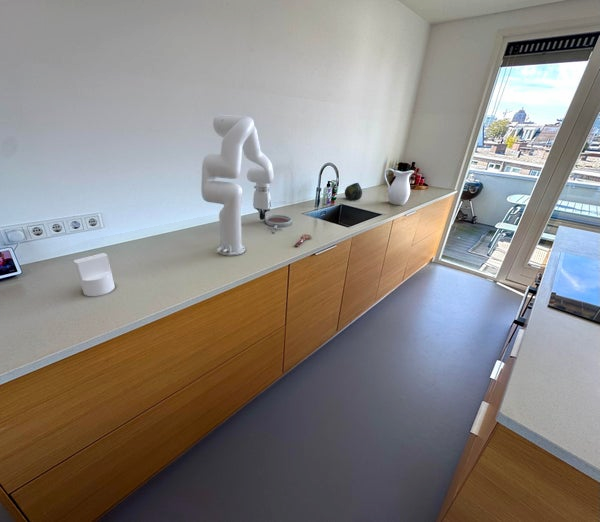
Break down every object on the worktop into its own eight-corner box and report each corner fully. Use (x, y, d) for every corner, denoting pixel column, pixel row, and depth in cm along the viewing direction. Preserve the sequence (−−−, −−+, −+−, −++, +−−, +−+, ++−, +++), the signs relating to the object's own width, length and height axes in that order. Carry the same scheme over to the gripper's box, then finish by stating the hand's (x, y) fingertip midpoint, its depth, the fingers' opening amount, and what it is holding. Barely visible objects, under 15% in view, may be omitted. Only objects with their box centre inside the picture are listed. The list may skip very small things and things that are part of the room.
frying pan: (258, 228, 159) (267, 213, 184) (258, 232, 160) (267, 217, 185) (288, 230, 158) (293, 215, 183) (288, 235, 160) (293, 219, 184)
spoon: (300, 248, 143) (300, 245, 142) (291, 246, 145) (291, 243, 144) (312, 237, 158) (312, 234, 158) (303, 235, 160) (304, 232, 159)
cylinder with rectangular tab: (108, 280, 105) (101, 250, 100) (119, 289, 100) (111, 258, 95) (79, 289, 98) (69, 257, 93) (89, 299, 94) (79, 266, 88)
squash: (338, 191, 245) (351, 180, 235) (347, 190, 256) (359, 179, 246) (347, 205, 243) (360, 194, 233) (356, 203, 254) (368, 192, 244)
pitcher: (409, 203, 247) (417, 170, 235) (404, 207, 234) (412, 172, 222) (382, 198, 258) (388, 166, 246) (376, 202, 245) (382, 168, 232)
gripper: (247, 188, 165) (248, 218, 174) (271, 192, 161) (270, 223, 169) (254, 186, 172) (254, 215, 180) (276, 189, 167) (276, 219, 176)
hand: (262, 219), depth 175 cm, fingers closed
